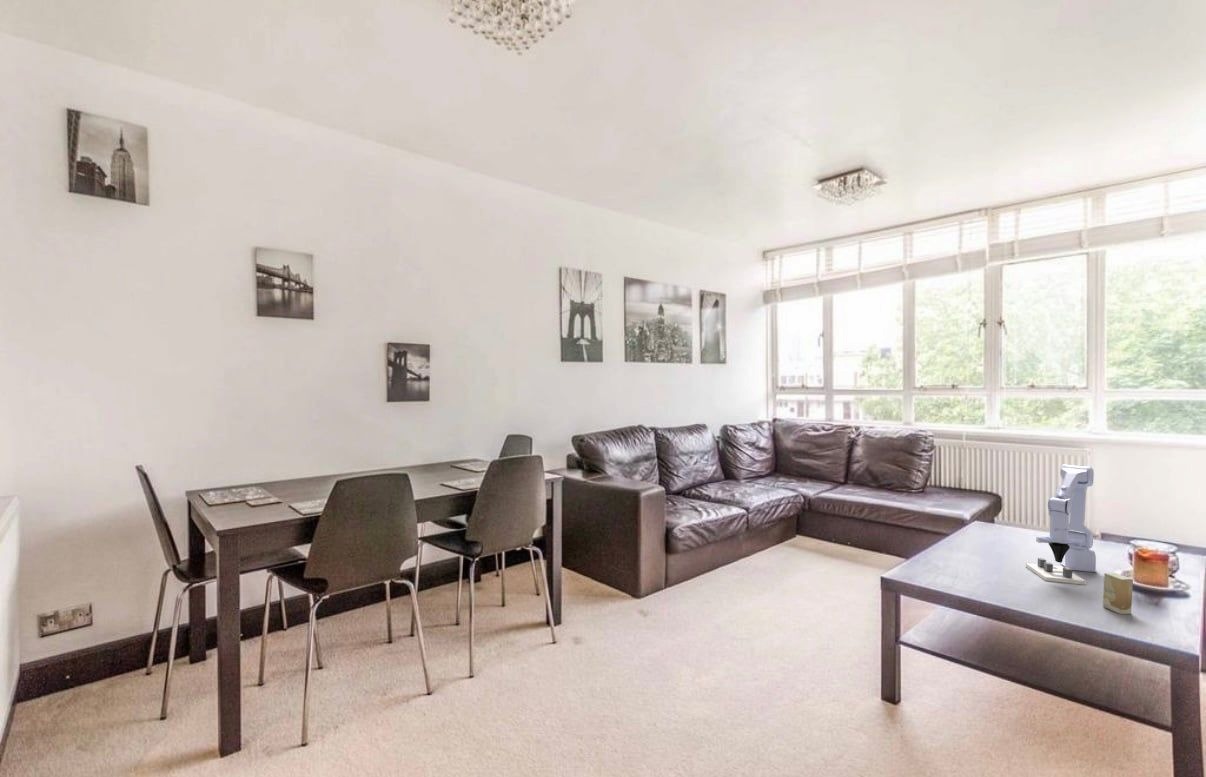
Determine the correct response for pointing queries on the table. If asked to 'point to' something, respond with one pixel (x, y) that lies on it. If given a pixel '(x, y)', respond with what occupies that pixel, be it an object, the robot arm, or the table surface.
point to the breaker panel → (1053, 572)
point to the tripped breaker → (1067, 572)
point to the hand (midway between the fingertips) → (1058, 561)
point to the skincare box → (1117, 593)
